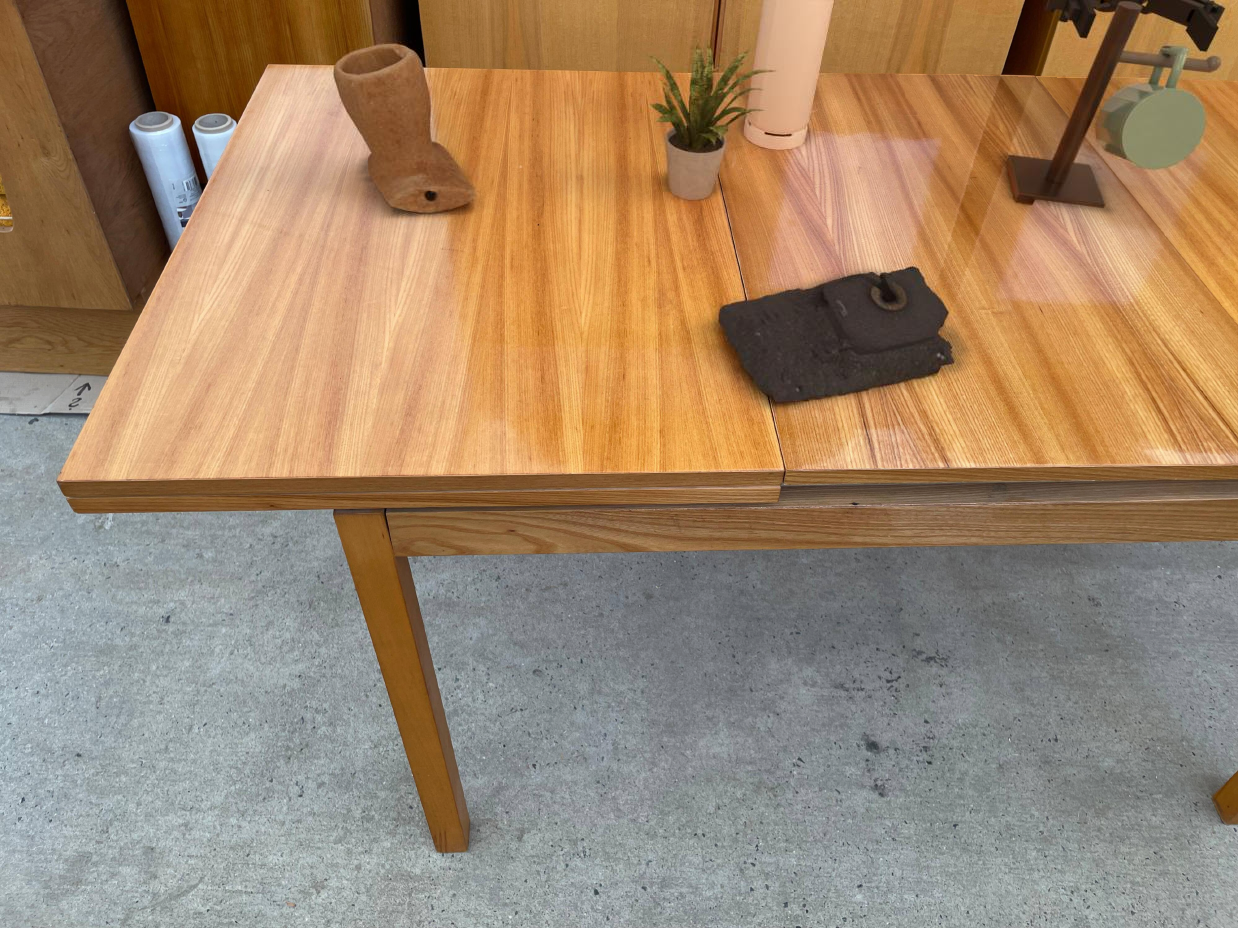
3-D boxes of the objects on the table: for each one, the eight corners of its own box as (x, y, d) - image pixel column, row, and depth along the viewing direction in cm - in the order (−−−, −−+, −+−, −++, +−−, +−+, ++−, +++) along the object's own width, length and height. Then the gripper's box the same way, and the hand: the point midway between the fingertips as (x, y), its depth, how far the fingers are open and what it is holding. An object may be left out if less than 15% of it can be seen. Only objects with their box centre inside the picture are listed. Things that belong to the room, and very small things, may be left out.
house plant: (782, 210, 103) (810, 68, 91) (679, 235, 98) (695, 89, 86) (718, 155, 111) (736, 19, 100) (620, 176, 107) (627, 35, 95)
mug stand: (1139, 180, 112) (1230, 1, 97) (1158, 221, 105) (1259, 35, 90) (1005, 163, 113) (1073, -16, 98) (1015, 202, 107) (1090, 16, 91)
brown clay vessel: (345, 166, 106) (320, 35, 95) (442, 151, 109) (429, 23, 98) (373, 231, 96) (349, 94, 85) (479, 212, 100) (468, 78, 89)
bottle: (730, 132, 116) (766, -117, 96) (772, 115, 120) (814, -127, 100) (776, 156, 112) (823, -98, 92) (818, 138, 116) (871, -109, 96)
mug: (1110, 164, 97) (1085, 153, 105) (1188, 174, 97) (1156, 162, 105) (1152, 43, 92) (1122, 40, 100) (1235, 52, 91) (1198, 49, 99)
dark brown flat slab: (697, 314, 88) (702, 274, 85) (885, 278, 94) (897, 239, 91) (766, 414, 78) (775, 373, 75) (972, 366, 84) (989, 326, 81)
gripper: (1194, 14, 119) (1242, 78, 105) (1005, -7, 122) (1026, 53, 107) (1224, -48, 114) (1279, 11, 99) (1025, -68, 116) (1051, -14, 102)
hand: (1148, 33), depth 103 cm, fingers open, 13 cm apart
